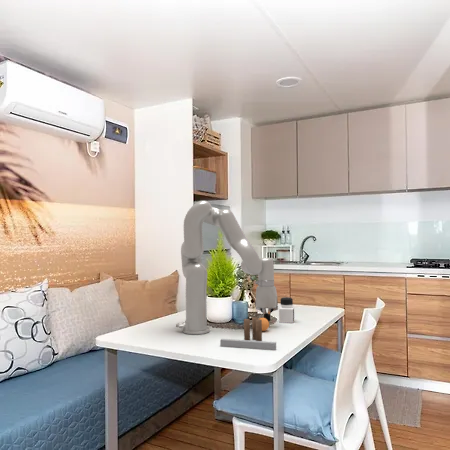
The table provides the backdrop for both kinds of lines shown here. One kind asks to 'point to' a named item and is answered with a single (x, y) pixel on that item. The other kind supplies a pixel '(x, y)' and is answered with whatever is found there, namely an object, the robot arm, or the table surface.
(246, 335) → the back pin left
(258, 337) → the back pin right
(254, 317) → the front pin
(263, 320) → the ball
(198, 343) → the table surface
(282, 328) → the table surface
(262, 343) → the stopper rail
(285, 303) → the medicine bottle
